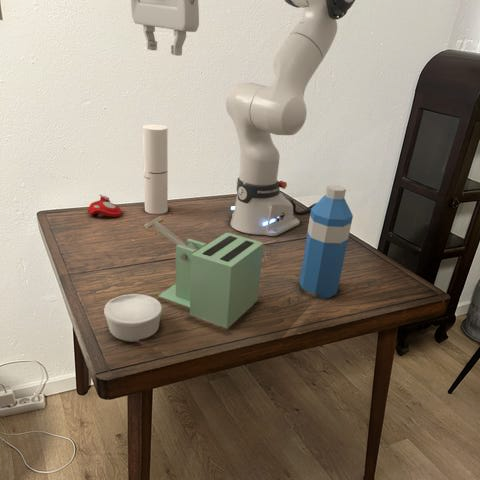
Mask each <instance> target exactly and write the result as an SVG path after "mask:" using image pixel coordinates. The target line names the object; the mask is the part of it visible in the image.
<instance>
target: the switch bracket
mask: <svg viewBox="0 0 480 480" xmlns="http://www.w3.org/2000/svg"><path fill="white" fill-rule="evenodd" d="M190 243H192V244H193V245H194V246H196V247H197V248H198V249H201V248H202V247H204V246H206V245H207V243H205V242H202V241H200V240H195V239H193V238H188V239H186V245H188V244H190ZM194 252H196V250H195V249H191V248H188V247H185V246H182V245H176V246H175V283H174V284H173V285H171V286H170V287H169V288H167V289H165V290H164V291H162V292H161V293H159V294H158V295H157V297H158V298H161V299H164V300H166V301H169V302H172V303H175V304H176V305H177V304H178V305H180V306H183V307H186V308H188V309H190V287H191V254H193V253H194Z"/></svg>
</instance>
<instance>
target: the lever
mask: <svg viewBox="0 0 480 480" xmlns="http://www.w3.org/2000/svg"><path fill="white" fill-rule="evenodd" d="M162 222H164V218H163V216H159V217H156V218H155V219H153V220H150V221H149V222H146V223H145V224H144V225H143V226H144V229H146V230H148V229H150V228H152V227H154V229H156V230H157V231H158V232H159V233H161V234H162V235H163V236H164V237H166V238H167V239H168V240H169V241H171V242H172V243H173V244H175V245H176V246H177V245H182V246H185V247H188V248H191V249H195V250H196V251H198V250H199V249H198V248H197V247H196V246H194V245H193V244H192V243H190V244H188V245H187V243H185V242H184V241H183V240H181V238H180V237H178V236H177V235H175V234H174V233H173V232H172V231H171V230H170V229H168V228H166V227H165V225H163V224H162Z"/></svg>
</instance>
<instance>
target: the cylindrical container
mask: <svg viewBox="0 0 480 480" xmlns="http://www.w3.org/2000/svg"><path fill="white" fill-rule="evenodd" d="M141 128H142V161H143V164H142V165H143V192H144V193H143V197H144V199H143V201H144V211H145V212H146V213H148V214H150V215H163V214H166V213H168V211H169V210H168V209H169V208H168V207H169V205H168V202H169V200H168V199H169V198H168V197H169V194H168V193H169V191H168V187H169V185H168V184H169V182H168V179H169V178H168V177H169V176H168V173H169V171H168V170H169V169H168V168H169V167H168V166H169V165H168V164H169V163H168V158H169V157H168V126H166V125H163V124H155V123H152V124H151V123H149V124H143V125H142V127H141Z"/></svg>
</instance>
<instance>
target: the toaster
mask: <svg viewBox="0 0 480 480" xmlns="http://www.w3.org/2000/svg"><path fill="white" fill-rule="evenodd" d="M264 245H265V242H262V241H259V240H255V239H252V238H248V237H244V236H241V235H238V234H234V233H230V232H225V233H223V234H221V235H219V236H218V237H217V238H215V239H214V240H212V241H210V242H209V243H206V246H204V247H202V248H201V249H199V250H198V251H196V252H194V253H193V254H191V287H190V308H189V314H188V316H190V317H192V318H195V319H198V320H201V321H203V322H205V323H209V324H211V325H214V326H216V327H219V328H222V329H225V330H228V329H230V327H231V326H233V325H234V324H235V323H236V322H237V321H238V320H239V319H240V318H241V317H242V316H243V315H244V314H245V313H247V312H248V311H249V309H251V308H252V307H253V306H254V305H255V304H256V303H257V302H259V291H260V280H261V272H262V262H263V256H264V255H263V254H264Z"/></svg>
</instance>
